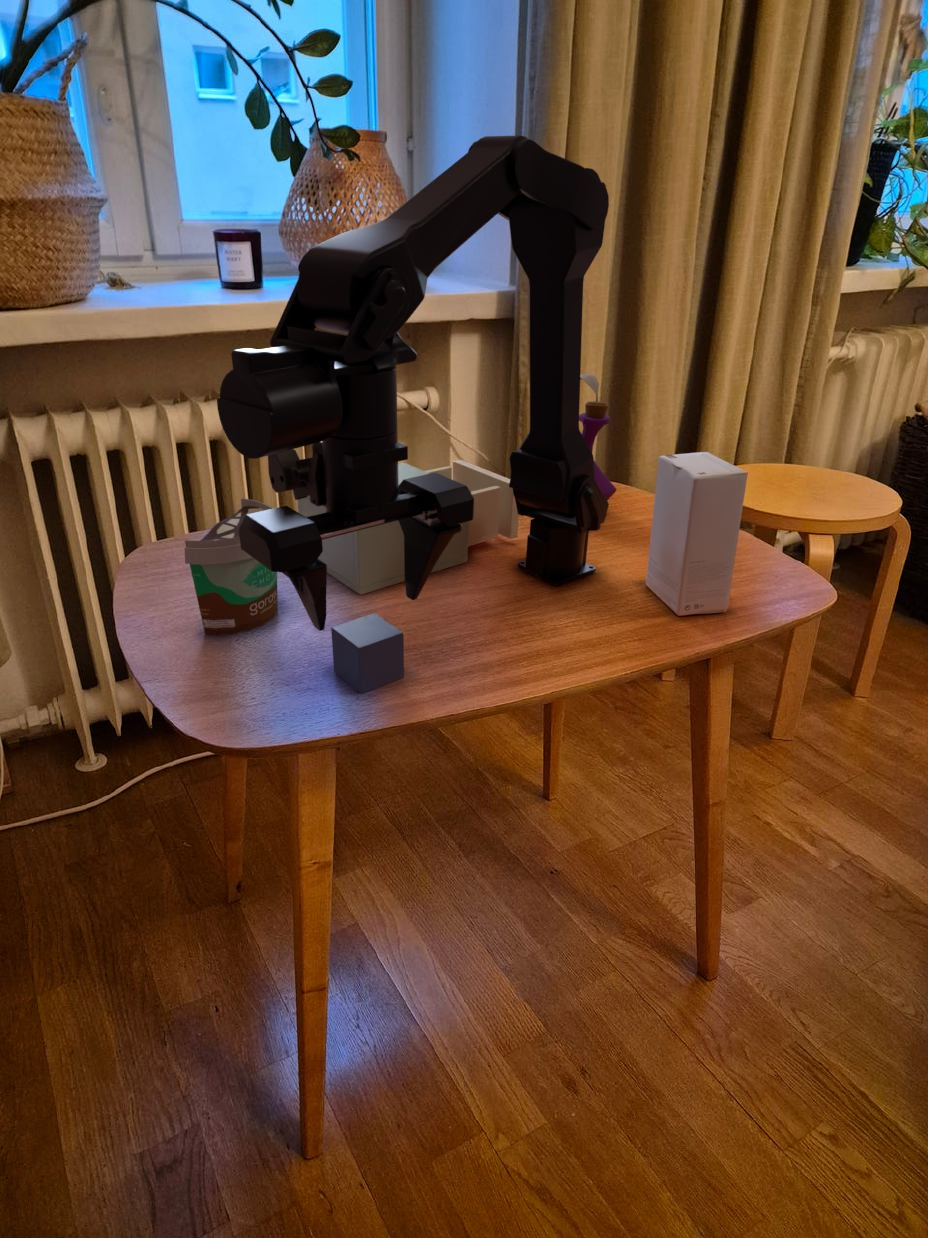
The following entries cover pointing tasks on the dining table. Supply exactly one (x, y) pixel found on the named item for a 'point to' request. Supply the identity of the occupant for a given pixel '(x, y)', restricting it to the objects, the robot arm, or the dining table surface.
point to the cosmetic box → (695, 531)
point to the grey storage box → (378, 549)
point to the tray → (486, 501)
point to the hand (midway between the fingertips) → (367, 612)
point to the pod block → (368, 652)
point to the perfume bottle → (595, 430)
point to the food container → (231, 578)
